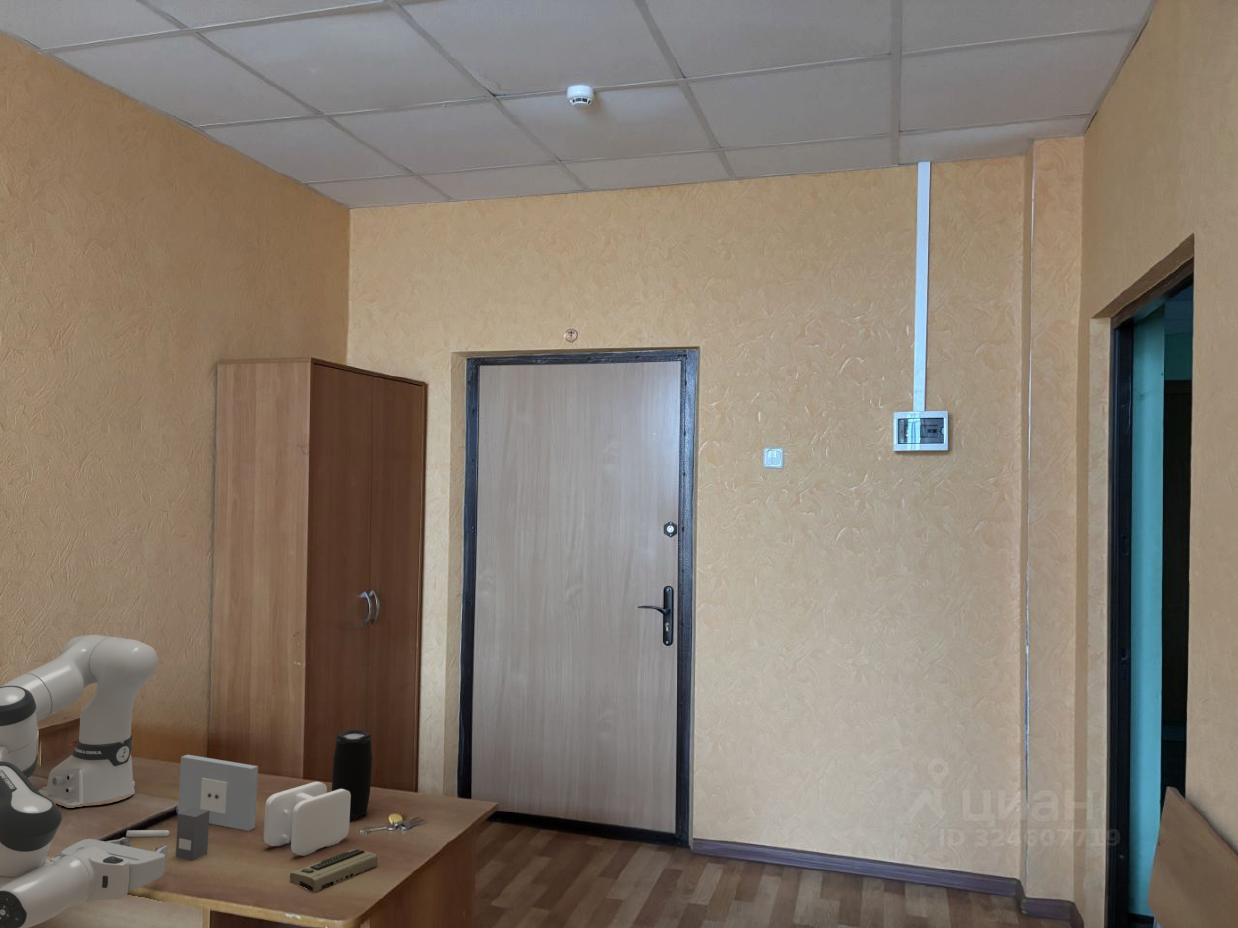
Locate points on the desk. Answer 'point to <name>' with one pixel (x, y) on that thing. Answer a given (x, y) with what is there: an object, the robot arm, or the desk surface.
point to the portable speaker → (353, 769)
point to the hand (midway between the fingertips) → (146, 845)
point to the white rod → (147, 833)
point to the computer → (334, 869)
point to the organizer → (307, 817)
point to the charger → (192, 833)
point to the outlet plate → (219, 790)
